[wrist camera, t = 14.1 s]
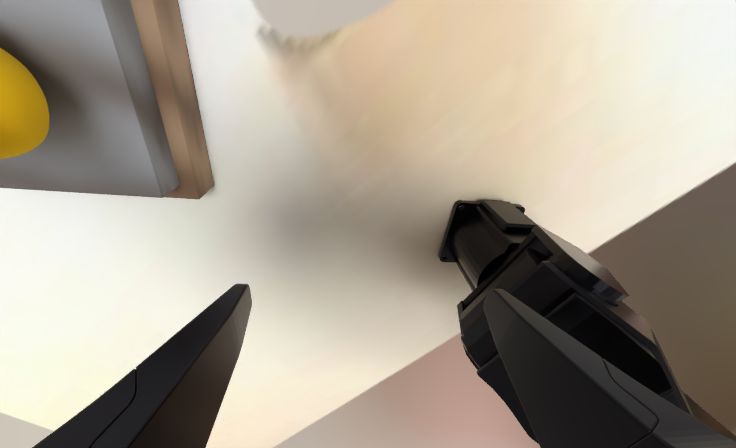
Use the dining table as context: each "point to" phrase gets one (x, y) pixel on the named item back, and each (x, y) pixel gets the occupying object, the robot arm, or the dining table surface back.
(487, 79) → the dining table surface
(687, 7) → the dining table surface
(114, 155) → the metal-topped wooden square
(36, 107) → the duckling
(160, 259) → the dining table surface
